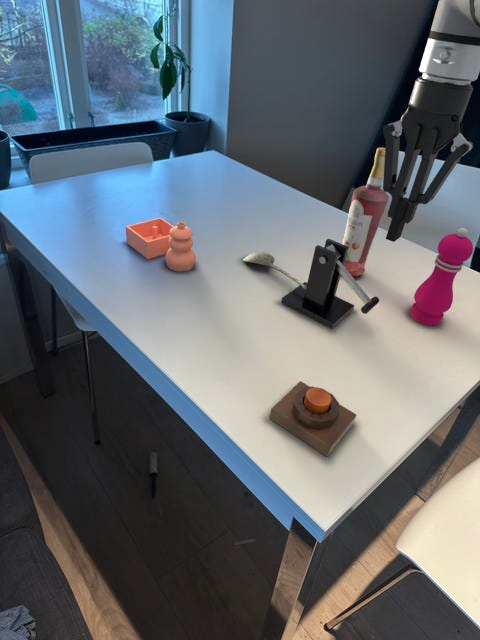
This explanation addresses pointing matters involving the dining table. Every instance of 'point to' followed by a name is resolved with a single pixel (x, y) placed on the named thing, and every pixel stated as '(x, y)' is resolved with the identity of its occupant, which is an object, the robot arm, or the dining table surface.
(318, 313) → the lever bracket
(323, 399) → the button
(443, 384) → the dining table surface
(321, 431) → the button box
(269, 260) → the soupspoon
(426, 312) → the pepper mill
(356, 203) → the liquor
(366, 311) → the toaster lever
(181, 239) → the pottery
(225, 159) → the dining table surface
